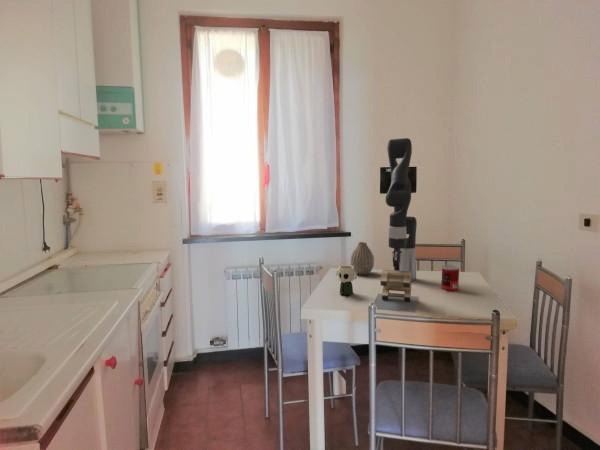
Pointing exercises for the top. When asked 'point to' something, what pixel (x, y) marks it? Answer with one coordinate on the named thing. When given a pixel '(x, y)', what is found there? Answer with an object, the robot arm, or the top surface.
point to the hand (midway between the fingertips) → (396, 275)
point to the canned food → (450, 278)
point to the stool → (396, 284)
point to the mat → (396, 303)
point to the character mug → (346, 279)
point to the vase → (362, 259)
